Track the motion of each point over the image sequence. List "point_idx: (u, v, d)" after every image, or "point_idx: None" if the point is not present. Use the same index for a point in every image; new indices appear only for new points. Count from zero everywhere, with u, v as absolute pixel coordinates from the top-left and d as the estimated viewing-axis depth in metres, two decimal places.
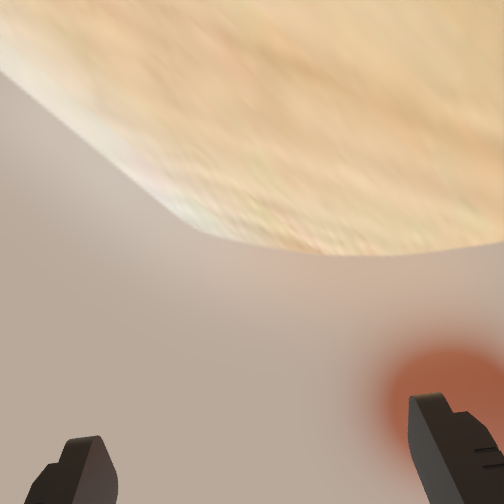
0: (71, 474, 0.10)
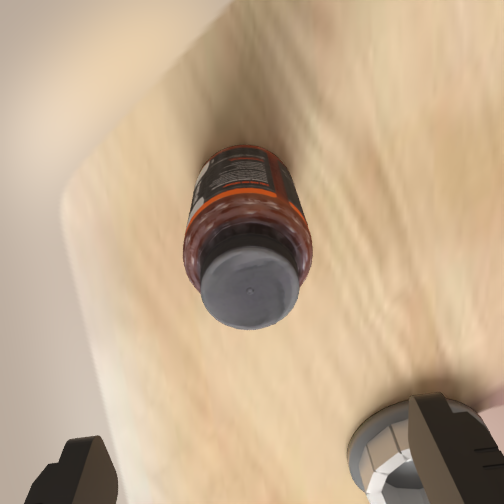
0: (71, 474, 0.10)
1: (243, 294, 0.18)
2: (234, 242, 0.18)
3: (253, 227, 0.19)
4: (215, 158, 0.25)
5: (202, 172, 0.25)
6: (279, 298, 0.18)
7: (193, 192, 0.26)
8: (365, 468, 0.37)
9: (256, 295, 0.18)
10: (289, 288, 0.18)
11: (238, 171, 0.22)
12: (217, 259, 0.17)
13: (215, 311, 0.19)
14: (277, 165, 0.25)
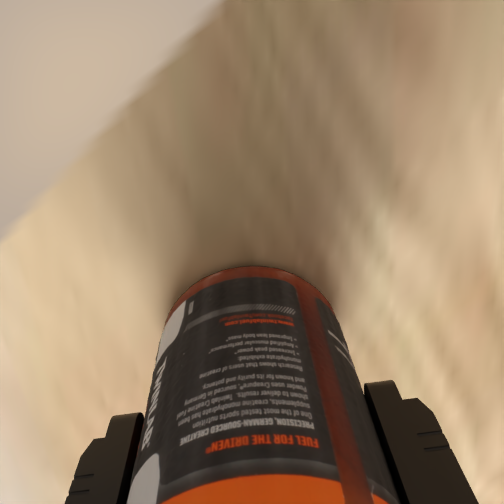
0: (119, 447, 0.11)
1: None
2: None
3: None
4: (196, 301, 0.13)
5: (171, 328, 0.13)
6: None
7: None
8: None
9: None
10: None
11: (243, 377, 0.10)
12: None
13: None
14: (319, 321, 0.12)
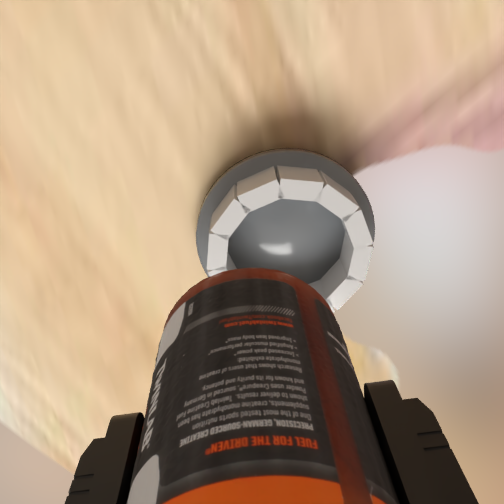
0: (119, 447, 0.11)
1: None
2: None
3: None
4: (196, 303, 0.13)
5: (171, 330, 0.13)
6: None
7: None
8: None
9: None
10: None
11: (242, 378, 0.10)
12: None
13: None
14: (318, 323, 0.12)
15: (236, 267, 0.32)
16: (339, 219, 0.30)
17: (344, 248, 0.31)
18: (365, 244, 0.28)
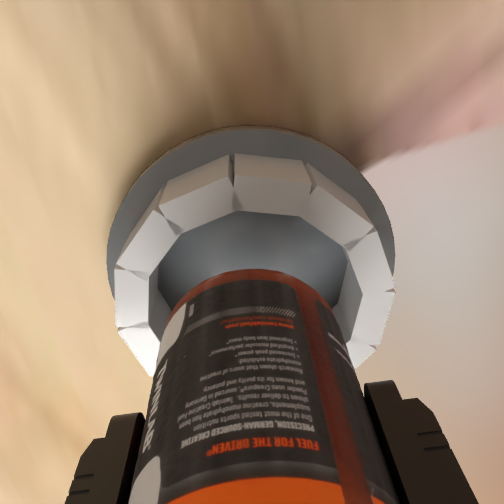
0: (119, 447, 0.11)
1: None
2: None
3: None
4: (196, 304, 0.13)
5: (171, 331, 0.13)
6: None
7: None
8: None
9: None
10: None
11: (243, 380, 0.10)
12: None
13: None
14: (319, 324, 0.13)
15: None
16: None
17: (346, 290, 0.19)
18: (382, 288, 0.17)
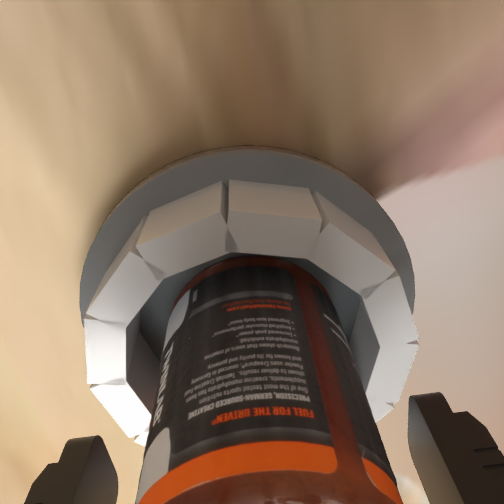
0: (71, 474, 0.10)
1: None
2: None
3: None
4: (200, 290, 0.14)
5: (177, 315, 0.14)
6: None
7: (163, 344, 0.15)
8: None
9: None
10: None
11: (244, 357, 0.11)
12: None
13: None
14: (315, 306, 0.13)
15: (160, 362, 0.17)
16: None
17: (358, 335, 0.16)
18: (403, 340, 0.14)
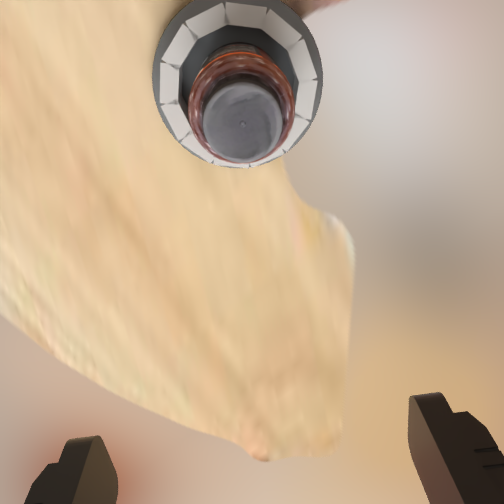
0: (71, 474, 0.10)
1: (237, 126, 0.23)
2: (228, 82, 0.22)
3: (243, 76, 0.23)
4: (212, 52, 0.30)
5: (202, 64, 0.30)
6: (266, 130, 0.23)
7: None
8: None
9: (247, 127, 0.23)
10: (274, 120, 0.22)
11: (231, 48, 0.26)
12: (214, 95, 0.22)
13: (216, 144, 0.23)
14: (265, 53, 0.29)
15: None
16: (288, 63, 0.32)
17: (293, 93, 0.32)
18: (309, 78, 0.30)
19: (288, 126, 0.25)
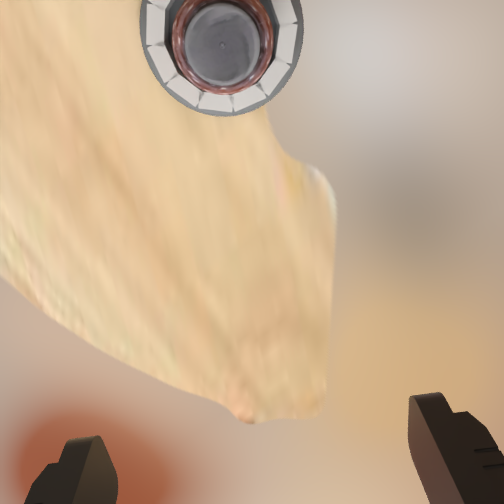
0: (71, 474, 0.10)
1: (217, 48, 0.24)
2: (208, 5, 0.23)
3: (223, 2, 0.24)
4: None
5: None
6: (245, 52, 0.24)
7: None
8: None
9: (227, 49, 0.24)
10: (252, 42, 0.24)
11: None
12: (195, 16, 0.23)
13: (197, 66, 0.24)
14: None
15: None
16: (270, 11, 0.33)
17: (275, 39, 0.34)
18: (290, 21, 0.31)
19: (267, 55, 0.26)
